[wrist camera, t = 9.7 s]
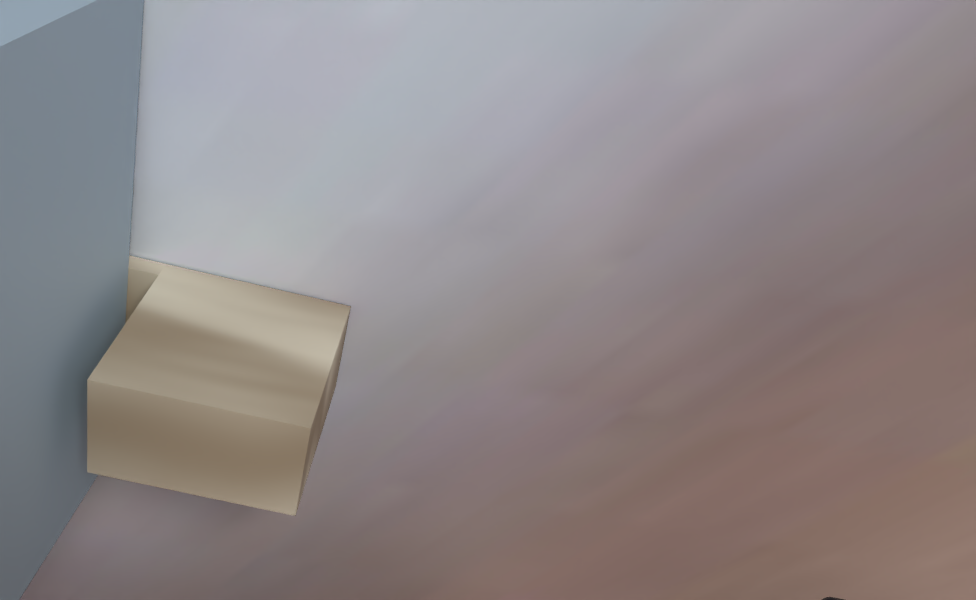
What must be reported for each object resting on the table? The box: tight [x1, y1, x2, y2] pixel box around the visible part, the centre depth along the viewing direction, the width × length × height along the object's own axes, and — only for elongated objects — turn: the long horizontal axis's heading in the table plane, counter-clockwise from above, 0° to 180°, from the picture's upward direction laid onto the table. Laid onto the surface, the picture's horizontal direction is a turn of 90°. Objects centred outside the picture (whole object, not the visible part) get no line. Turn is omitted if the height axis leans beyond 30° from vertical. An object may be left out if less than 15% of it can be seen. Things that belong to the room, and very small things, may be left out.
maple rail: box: [87, 256, 351, 516], centre depth 21 cm, size 3×13×4 cm, turn 77°
